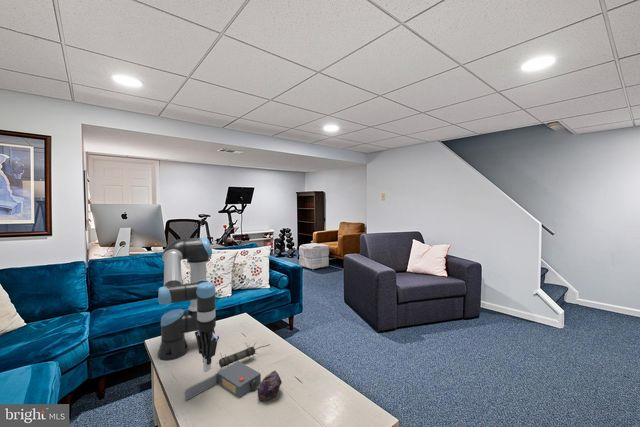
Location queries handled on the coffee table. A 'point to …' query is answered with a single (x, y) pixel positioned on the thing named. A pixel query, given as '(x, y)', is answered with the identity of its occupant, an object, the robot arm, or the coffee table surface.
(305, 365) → the coffee table surface
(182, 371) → the coffee table surface
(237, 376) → the camera body
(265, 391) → the rock
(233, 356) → the bomb
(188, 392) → the side door
